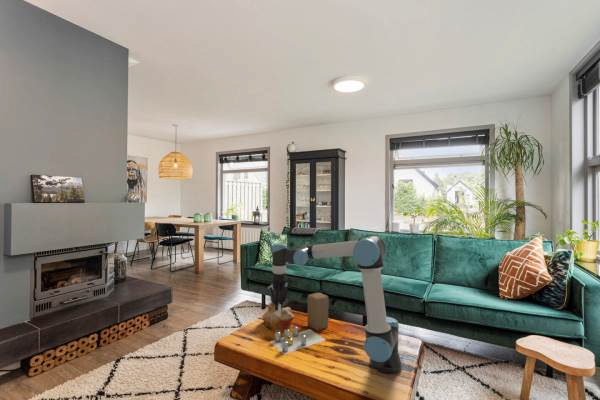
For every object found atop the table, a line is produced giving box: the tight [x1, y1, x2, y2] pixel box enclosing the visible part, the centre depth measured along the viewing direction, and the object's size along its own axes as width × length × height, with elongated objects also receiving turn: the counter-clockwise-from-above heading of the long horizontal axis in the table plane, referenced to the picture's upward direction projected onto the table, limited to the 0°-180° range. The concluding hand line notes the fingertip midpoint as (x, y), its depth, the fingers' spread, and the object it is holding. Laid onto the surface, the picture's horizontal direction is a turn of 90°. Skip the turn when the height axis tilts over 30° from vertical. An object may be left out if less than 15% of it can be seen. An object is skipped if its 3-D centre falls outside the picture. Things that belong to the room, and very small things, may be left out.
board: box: [269, 328, 327, 355], centre depth 165 cm, size 16×28×1 cm, turn 125°
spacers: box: [274, 325, 306, 353], centre depth 163 cm, size 14×17×5 cm
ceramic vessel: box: [262, 301, 296, 333], centre depth 183 cm, size 14×26×15 cm, turn 37°
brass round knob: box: [285, 336, 294, 346], centre depth 162 cm, size 5×5×3 cm
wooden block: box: [307, 292, 329, 331], centre depth 186 cm, size 10×10×20 cm
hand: (278, 315), depth 158 cm, fingers closed
